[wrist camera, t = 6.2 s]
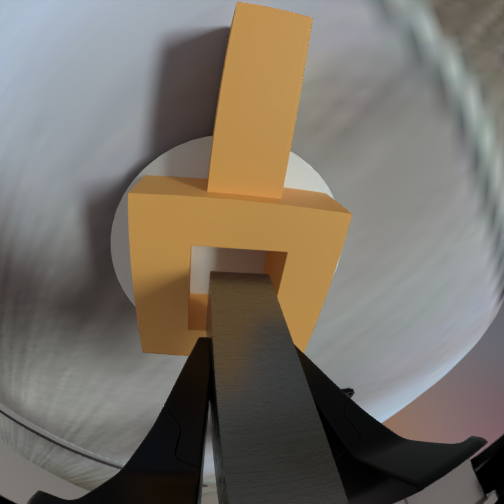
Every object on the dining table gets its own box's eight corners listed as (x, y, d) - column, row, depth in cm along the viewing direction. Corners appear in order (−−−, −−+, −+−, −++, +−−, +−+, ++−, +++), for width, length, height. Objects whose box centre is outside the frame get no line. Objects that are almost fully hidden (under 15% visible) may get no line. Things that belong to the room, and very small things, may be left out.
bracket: (305, 334, 20) (321, 373, 16) (126, 329, 17) (116, 371, 14) (376, 64, 11) (420, 58, 8) (130, 22, 8) (106, -4, 5)
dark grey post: (257, 327, 13) (304, 518, 5) (205, 325, 12) (222, 529, 4) (268, 274, 11) (348, 503, 3) (209, 271, 11) (232, 526, 3)
